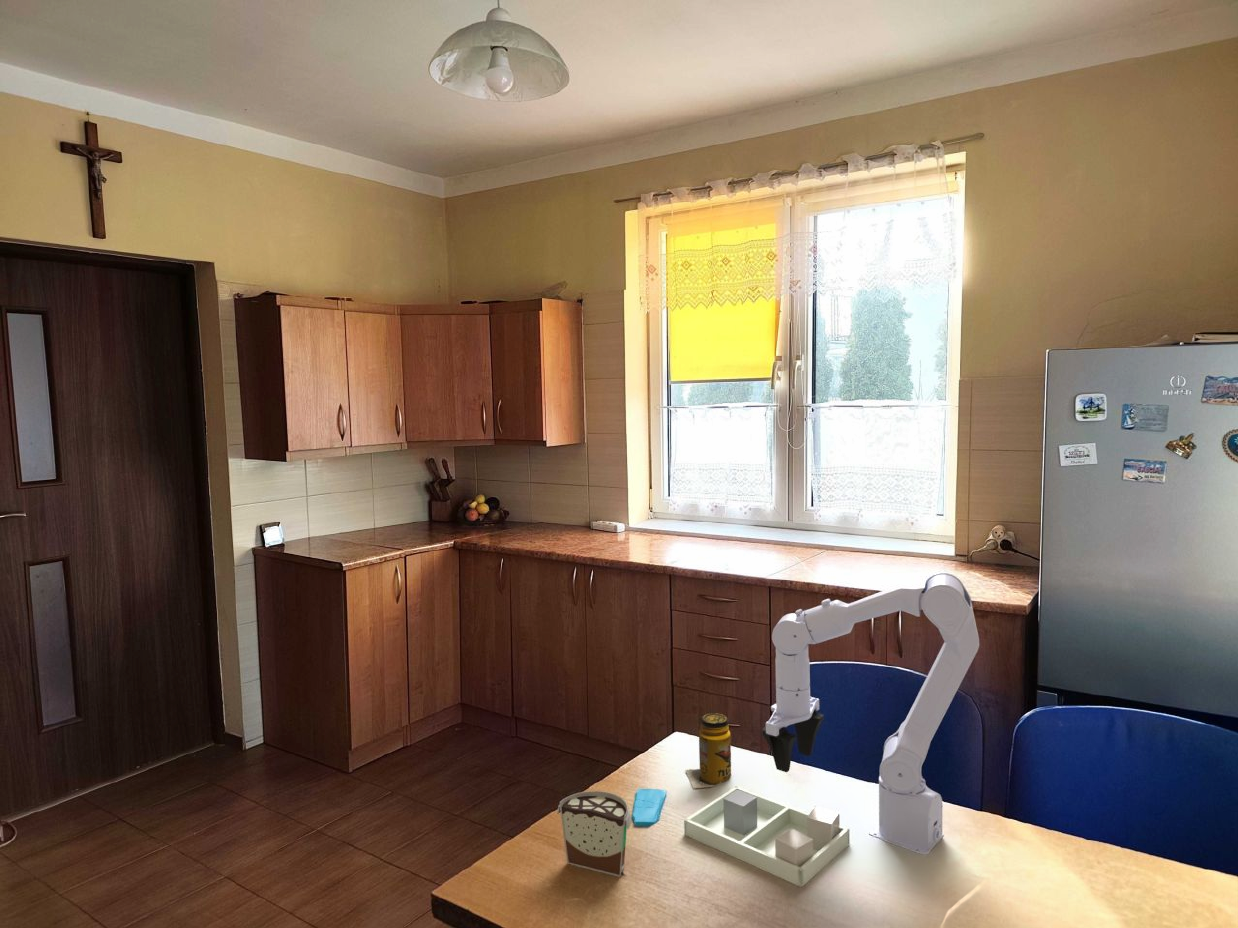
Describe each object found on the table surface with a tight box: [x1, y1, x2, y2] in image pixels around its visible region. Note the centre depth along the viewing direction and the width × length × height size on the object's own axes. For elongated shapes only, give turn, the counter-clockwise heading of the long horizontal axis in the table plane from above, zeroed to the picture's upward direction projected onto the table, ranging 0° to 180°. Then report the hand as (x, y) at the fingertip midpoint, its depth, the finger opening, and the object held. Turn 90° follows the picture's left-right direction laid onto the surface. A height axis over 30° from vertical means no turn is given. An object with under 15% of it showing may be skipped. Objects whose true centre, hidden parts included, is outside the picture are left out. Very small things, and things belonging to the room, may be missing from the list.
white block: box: [775, 829, 813, 867], centre depth 121 cm, size 4×4×5 cm
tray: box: [683, 786, 850, 888], centre depth 130 cm, size 22×15×3 cm
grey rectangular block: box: [724, 790, 757, 835], centre depth 134 cm, size 4×4×5 cm
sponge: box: [631, 788, 668, 827], centre depth 142 cm, size 2×12×6 cm
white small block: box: [807, 806, 840, 851], centre depth 128 cm, size 4×4×5 cm
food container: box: [557, 790, 632, 878], centre depth 126 cm, size 12×6×10 cm, turn 65°
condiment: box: [684, 712, 733, 790], centre depth 152 cm, size 7×8×12 cm
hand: (794, 761), depth 137 cm, fingers open, 7 cm apart
